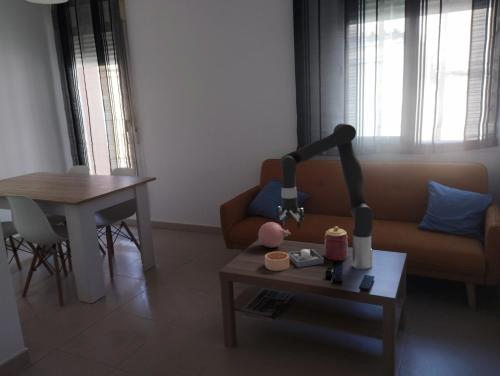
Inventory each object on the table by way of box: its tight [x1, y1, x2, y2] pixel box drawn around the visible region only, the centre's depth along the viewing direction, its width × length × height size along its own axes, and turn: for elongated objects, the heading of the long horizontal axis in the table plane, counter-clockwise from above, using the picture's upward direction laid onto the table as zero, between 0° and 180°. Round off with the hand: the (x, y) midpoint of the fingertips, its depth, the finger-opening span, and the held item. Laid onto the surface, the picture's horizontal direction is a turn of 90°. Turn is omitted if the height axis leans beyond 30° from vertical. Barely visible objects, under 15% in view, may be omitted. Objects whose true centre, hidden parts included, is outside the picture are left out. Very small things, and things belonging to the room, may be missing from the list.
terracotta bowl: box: [264, 251, 290, 272], centre depth 220 cm, size 13×13×6 cm
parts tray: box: [287, 248, 325, 268], centre depth 226 cm, size 15×15×3 cm
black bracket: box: [321, 267, 334, 282], centre depth 204 cm, size 12×7×5 cm, turn 160°
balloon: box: [257, 221, 292, 249], centre depth 247 cm, size 15×20×15 cm
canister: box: [323, 225, 349, 261], centre depth 228 cm, size 13×13×18 cm
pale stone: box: [300, 248, 310, 261], centre depth 226 cm, size 5×5×5 cm
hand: (290, 227), depth 207 cm, fingers open, 8 cm apart
